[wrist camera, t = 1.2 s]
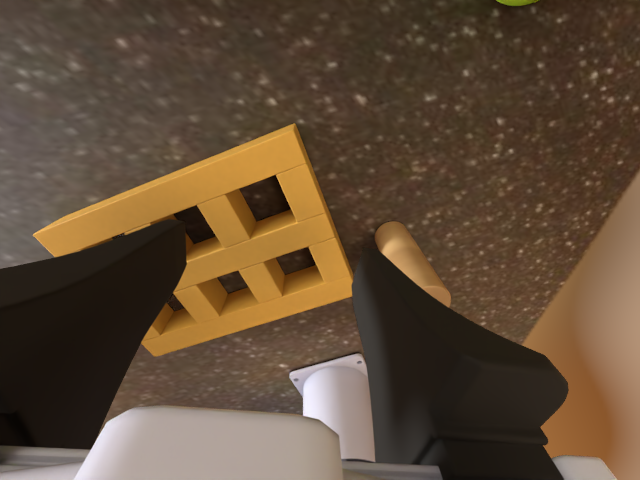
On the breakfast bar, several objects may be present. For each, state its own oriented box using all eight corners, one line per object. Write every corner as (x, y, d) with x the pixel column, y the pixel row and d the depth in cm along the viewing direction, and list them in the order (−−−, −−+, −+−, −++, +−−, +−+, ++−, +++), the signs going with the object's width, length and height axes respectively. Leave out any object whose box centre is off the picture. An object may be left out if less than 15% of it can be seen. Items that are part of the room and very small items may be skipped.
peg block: (352, 273, 24) (357, 294, 22) (168, 332, 27) (154, 357, 24) (295, 122, 18) (293, 129, 16) (64, 216, 21) (31, 234, 18)
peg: (409, 243, 23) (454, 314, 16) (379, 253, 24) (409, 326, 17) (403, 216, 22) (448, 279, 15) (370, 227, 22) (400, 294, 15)
